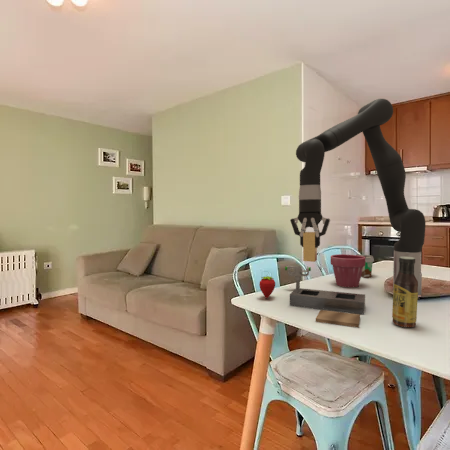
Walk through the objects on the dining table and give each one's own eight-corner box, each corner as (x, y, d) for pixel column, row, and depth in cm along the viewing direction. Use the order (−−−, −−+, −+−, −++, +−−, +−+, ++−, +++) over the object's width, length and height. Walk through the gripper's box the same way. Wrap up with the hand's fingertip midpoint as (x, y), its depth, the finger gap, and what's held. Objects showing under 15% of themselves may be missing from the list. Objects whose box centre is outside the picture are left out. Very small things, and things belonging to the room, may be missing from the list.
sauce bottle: (387, 321, 98) (388, 255, 97) (407, 320, 98) (408, 255, 97) (401, 329, 91) (402, 259, 90) (422, 328, 92) (423, 258, 91)
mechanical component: (310, 291, 132) (310, 267, 132) (285, 290, 134) (285, 266, 134) (310, 289, 135) (310, 266, 135) (285, 288, 137) (285, 265, 137)
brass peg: (316, 259, 116) (316, 232, 115) (314, 261, 112) (314, 232, 112) (305, 259, 118) (305, 231, 117) (303, 261, 114) (303, 232, 114)
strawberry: (277, 296, 126) (277, 270, 125) (272, 301, 119) (272, 274, 118) (263, 294, 128) (262, 269, 128) (256, 300, 121) (256, 273, 121)
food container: (378, 278, 154) (378, 257, 154) (365, 278, 154) (365, 258, 154) (367, 273, 166) (367, 254, 166) (355, 273, 166) (355, 254, 166)
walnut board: (360, 317, 101) (360, 314, 101) (358, 327, 93) (358, 324, 93) (320, 312, 106) (320, 309, 106) (315, 321, 98) (315, 318, 98)
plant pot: (349, 280, 152) (349, 253, 151) (372, 287, 138) (373, 257, 138) (323, 283, 147) (323, 255, 146) (345, 290, 133) (345, 259, 133)
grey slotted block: (365, 305, 113) (365, 294, 113) (364, 314, 104) (364, 302, 104) (296, 298, 123) (296, 287, 123) (289, 305, 114) (289, 294, 114)
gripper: (332, 198, 114) (332, 246, 115) (292, 199, 120) (292, 245, 121) (329, 197, 107) (329, 249, 108) (287, 198, 113) (287, 247, 114)
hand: (310, 247), depth 115 cm, fingers closed on brass peg, 4 cm apart
